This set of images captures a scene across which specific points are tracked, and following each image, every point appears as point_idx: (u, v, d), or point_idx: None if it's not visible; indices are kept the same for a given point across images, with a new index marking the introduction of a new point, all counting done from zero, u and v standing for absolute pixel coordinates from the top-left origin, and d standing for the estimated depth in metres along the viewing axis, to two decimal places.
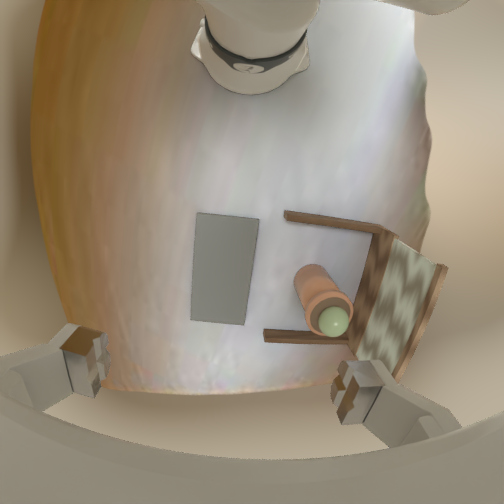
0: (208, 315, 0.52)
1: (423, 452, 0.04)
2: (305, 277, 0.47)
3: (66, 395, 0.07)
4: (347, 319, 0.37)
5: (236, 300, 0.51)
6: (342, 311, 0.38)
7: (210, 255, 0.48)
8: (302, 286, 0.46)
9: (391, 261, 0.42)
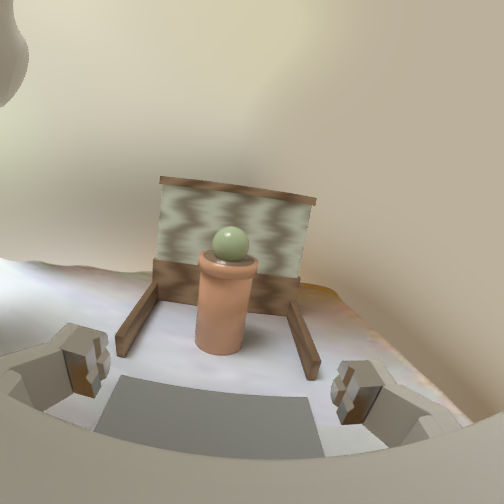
0: (306, 444, 0.21)
1: (423, 452, 0.04)
2: (203, 325, 0.34)
3: (66, 395, 0.07)
4: None
5: (261, 408, 0.26)
6: None
7: (172, 438, 0.20)
8: (211, 318, 0.34)
9: (178, 256, 0.45)
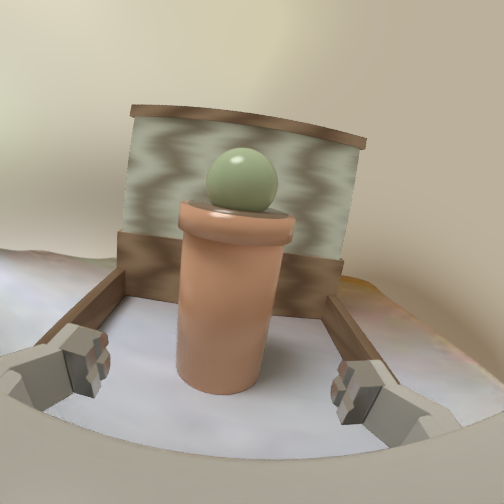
0: None
1: (423, 452, 0.04)
2: (188, 341, 0.17)
3: (66, 395, 0.07)
4: None
5: None
6: None
7: None
8: (204, 327, 0.17)
9: (154, 226, 0.28)
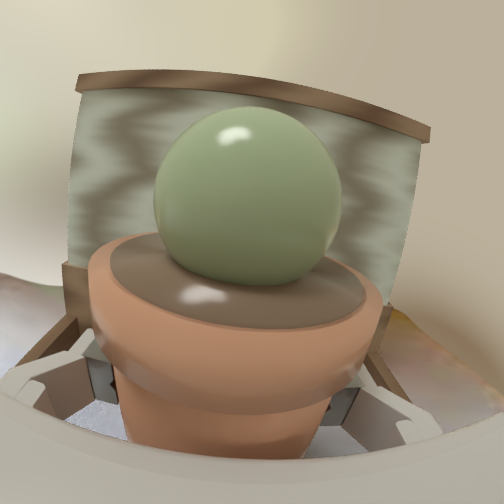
0: None
1: (423, 452, 0.04)
2: None
3: (87, 402, 0.07)
4: None
5: None
6: None
7: None
8: None
9: None
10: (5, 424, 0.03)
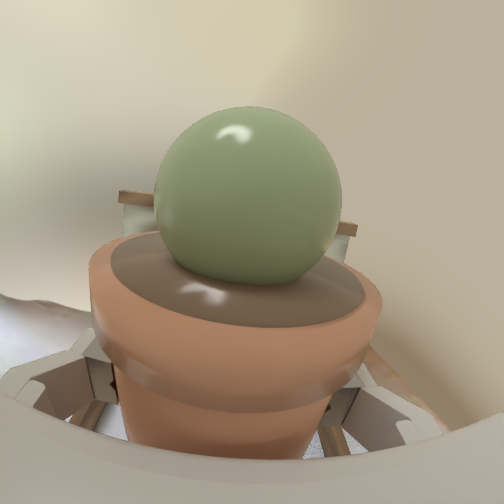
0: None
1: (423, 452, 0.04)
2: None
3: (88, 402, 0.07)
4: None
5: None
6: None
7: None
8: None
9: None
10: (5, 424, 0.03)
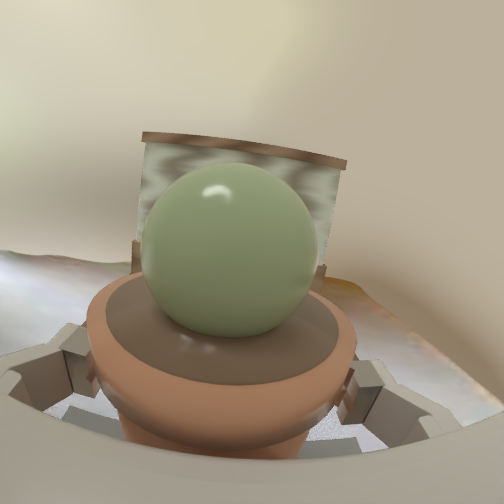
0: None
1: (423, 452, 0.04)
2: None
3: (66, 395, 0.07)
4: None
5: None
6: None
7: None
8: None
9: None
10: (5, 424, 0.03)
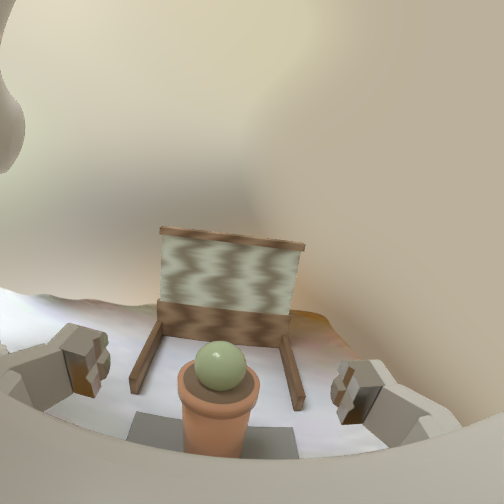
0: None
1: (423, 452, 0.04)
2: (191, 450, 0.23)
3: (66, 395, 0.07)
4: None
5: (253, 437, 0.30)
6: None
7: None
8: (201, 448, 0.22)
9: (179, 298, 0.49)
10: (5, 424, 0.03)
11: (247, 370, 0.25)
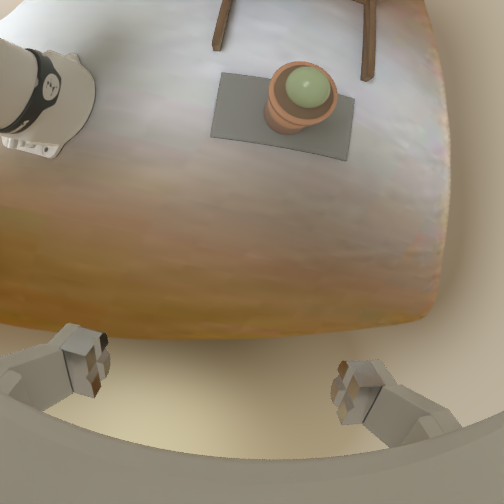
0: (340, 137, 0.39)
1: (423, 452, 0.04)
2: (271, 122, 0.34)
3: (66, 395, 0.07)
4: (300, 68, 0.23)
5: None
6: (289, 76, 0.24)
7: (261, 124, 0.38)
8: (280, 126, 0.33)
9: None
10: (5, 424, 0.03)
11: (329, 82, 0.26)
